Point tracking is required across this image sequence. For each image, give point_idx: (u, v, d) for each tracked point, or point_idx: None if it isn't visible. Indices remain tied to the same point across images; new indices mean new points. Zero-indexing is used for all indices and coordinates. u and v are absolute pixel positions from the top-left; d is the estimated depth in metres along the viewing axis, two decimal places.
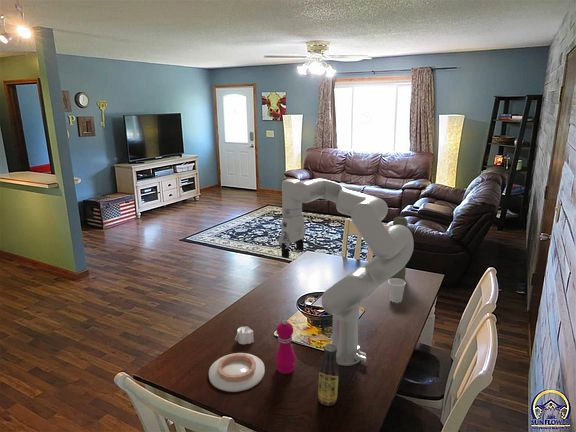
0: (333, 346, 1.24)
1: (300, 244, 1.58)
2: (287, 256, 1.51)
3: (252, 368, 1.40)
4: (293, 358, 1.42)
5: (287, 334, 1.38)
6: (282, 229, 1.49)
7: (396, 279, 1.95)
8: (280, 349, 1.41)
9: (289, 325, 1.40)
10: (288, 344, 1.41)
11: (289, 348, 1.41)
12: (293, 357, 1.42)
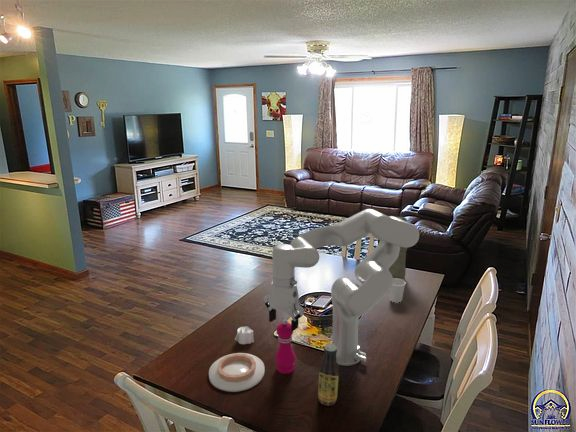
0: (333, 346, 1.24)
1: (274, 313, 1.42)
2: None
3: (252, 368, 1.40)
4: (293, 358, 1.42)
5: (287, 334, 1.38)
6: (293, 301, 1.33)
7: (396, 279, 1.95)
8: (280, 349, 1.41)
9: (289, 325, 1.40)
10: (288, 344, 1.41)
11: (289, 348, 1.41)
12: (293, 357, 1.42)
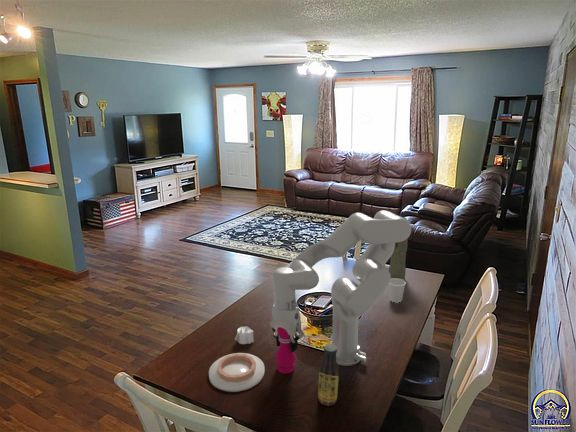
0: (333, 346, 1.24)
1: None
2: None
3: (252, 368, 1.40)
4: (293, 358, 1.42)
5: (287, 334, 1.38)
6: (295, 323, 1.36)
7: (396, 279, 1.95)
8: (280, 349, 1.41)
9: None
10: (288, 344, 1.41)
11: (289, 348, 1.41)
12: (293, 357, 1.42)
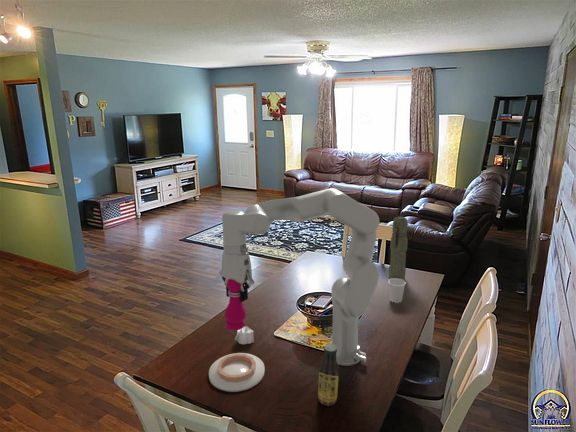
0: (333, 346, 1.24)
1: None
2: None
3: (252, 368, 1.40)
4: (243, 314, 1.35)
5: (237, 287, 1.31)
6: (244, 269, 1.29)
7: (396, 279, 1.95)
8: (229, 304, 1.34)
9: None
10: (238, 299, 1.33)
11: (239, 303, 1.34)
12: (243, 313, 1.35)
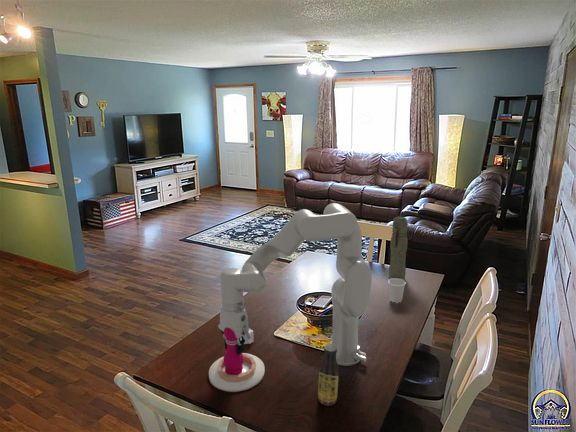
0: (333, 346, 1.24)
1: None
2: None
3: (252, 368, 1.40)
4: (240, 360, 1.39)
5: (233, 336, 1.35)
6: (241, 325, 1.34)
7: (396, 279, 1.95)
8: (227, 351, 1.39)
9: None
10: (235, 346, 1.38)
11: (236, 350, 1.39)
12: (241, 359, 1.39)
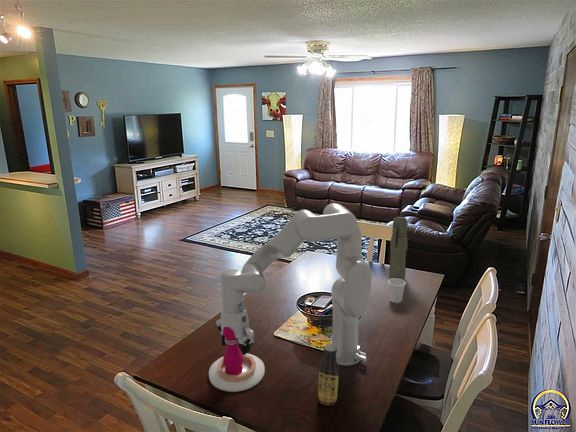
0: (333, 346, 1.24)
1: None
2: (248, 349, 1.38)
3: (252, 368, 1.40)
4: (240, 359, 1.39)
5: (232, 335, 1.36)
6: (242, 326, 1.34)
7: (396, 279, 1.95)
8: (227, 351, 1.39)
9: None
10: (234, 346, 1.38)
11: (236, 350, 1.39)
12: (240, 359, 1.39)
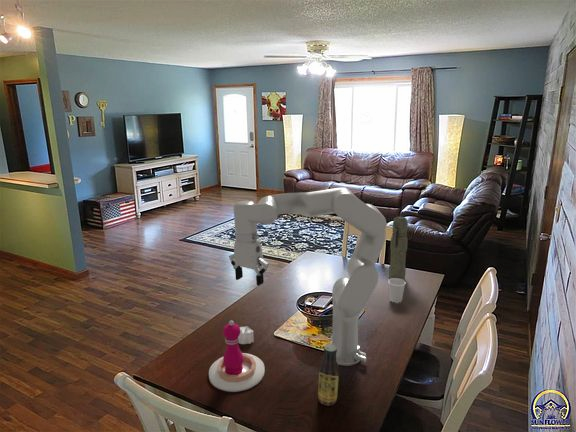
0: (333, 346, 1.24)
1: (240, 271, 1.45)
2: None
3: (252, 368, 1.40)
4: (240, 359, 1.39)
5: (233, 335, 1.36)
6: (256, 256, 1.36)
7: (396, 279, 1.95)
8: (227, 350, 1.39)
9: (236, 326, 1.37)
10: (235, 345, 1.38)
11: (236, 350, 1.39)
12: (240, 359, 1.39)
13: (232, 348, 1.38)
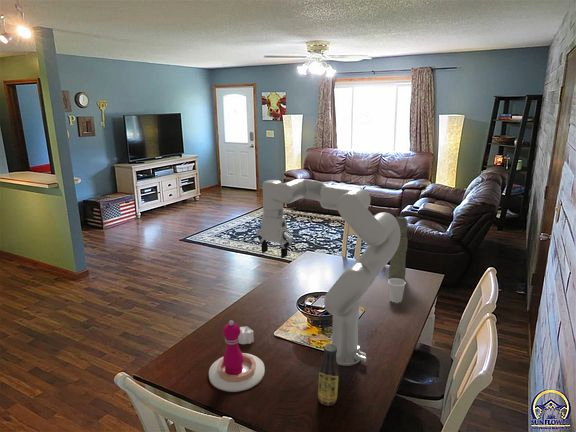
0: (333, 346, 1.24)
1: (266, 245, 1.58)
2: (286, 254, 1.54)
3: (252, 368, 1.40)
4: (240, 359, 1.39)
5: (233, 335, 1.36)
6: (281, 230, 1.49)
7: (396, 279, 1.95)
8: (227, 350, 1.39)
9: (235, 326, 1.37)
10: (235, 345, 1.38)
11: (236, 349, 1.39)
12: (240, 359, 1.39)
13: (232, 348, 1.38)
